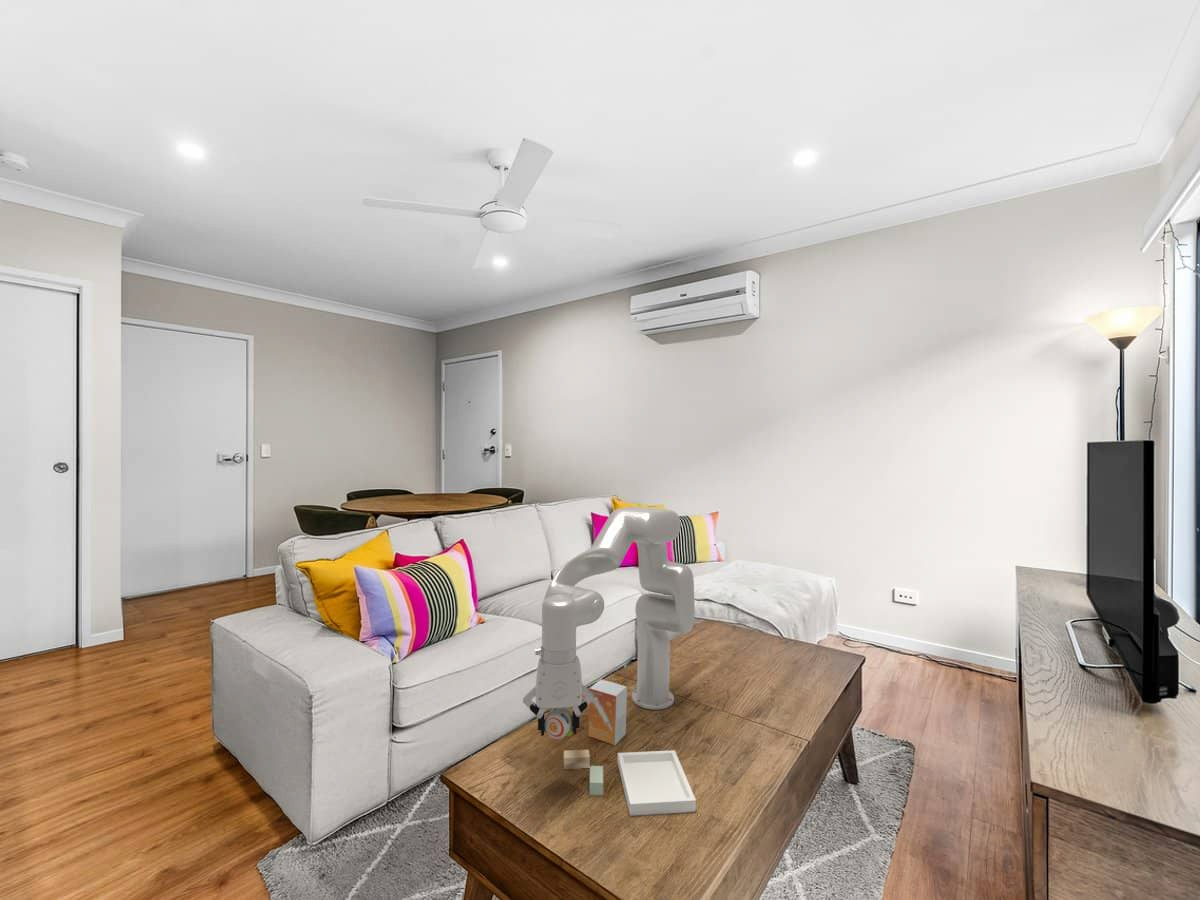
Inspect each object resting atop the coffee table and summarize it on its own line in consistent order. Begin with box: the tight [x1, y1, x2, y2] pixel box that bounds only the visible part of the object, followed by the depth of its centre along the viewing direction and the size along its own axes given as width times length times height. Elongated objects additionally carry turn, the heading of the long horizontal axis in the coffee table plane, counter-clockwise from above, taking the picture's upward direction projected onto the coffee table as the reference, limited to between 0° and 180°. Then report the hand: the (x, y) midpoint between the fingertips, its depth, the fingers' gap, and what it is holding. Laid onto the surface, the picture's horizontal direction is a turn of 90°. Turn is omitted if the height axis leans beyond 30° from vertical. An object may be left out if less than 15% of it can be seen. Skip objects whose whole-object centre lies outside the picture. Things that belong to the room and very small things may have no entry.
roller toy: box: [544, 708, 573, 740], centre depth 120 cm, size 4×6×6 cm
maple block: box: [563, 749, 591, 770], centre depth 129 cm, size 6×3×3 cm, turn 96°
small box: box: [587, 678, 628, 746], centre depth 142 cm, size 8×6×13 cm
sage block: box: [588, 765, 604, 796], centre depth 122 cm, size 6×3×3 cm, turn 1°
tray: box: [617, 749, 697, 817], centre depth 122 cm, size 18×14×2 cm
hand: (558, 731), depth 121 cm, fingers closed on roller toy, 6 cm apart
